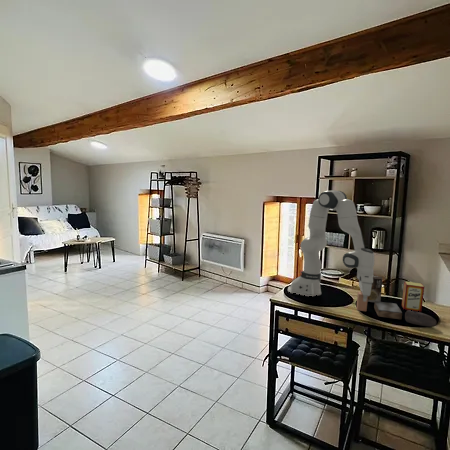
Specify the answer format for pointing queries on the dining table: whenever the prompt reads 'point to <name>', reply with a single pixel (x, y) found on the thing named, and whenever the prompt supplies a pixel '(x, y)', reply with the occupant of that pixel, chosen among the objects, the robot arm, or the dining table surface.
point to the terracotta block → (361, 302)
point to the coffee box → (376, 289)
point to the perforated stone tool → (419, 318)
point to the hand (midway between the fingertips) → (363, 298)
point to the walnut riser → (387, 310)
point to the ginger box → (413, 296)
